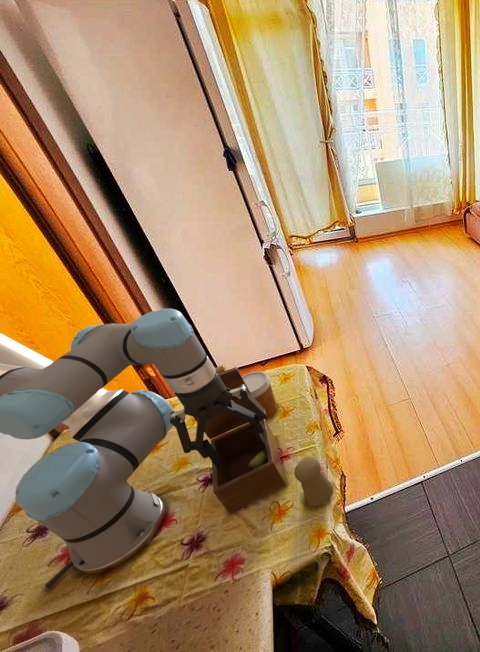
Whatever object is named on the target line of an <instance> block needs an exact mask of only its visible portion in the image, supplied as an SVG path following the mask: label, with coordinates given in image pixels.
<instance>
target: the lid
mask: <svg viewBox="0 0 480 652" xmlns="http://www.w3.org/2000/svg"><path fill="white" fill-rule="evenodd" d="M215 369H216V372H217V373H218V374H219V376H220V378H221V380H222V381H223V383H224V385H225V386H226V387H227V388H229V389H230V390H233V389H236V388H239V385H241V384H245V386H246V389H247V392H248V393H249V394H250V395H251V396H252V394H251V392H250V390H249V389H248V387H247V385H246V383H245V381H244V380H243V378H242V376H243V375H242V374H241V372H240V370H239V369H238V367H237V366H235V367H232V368H229V369H227V368H226V365H224V364H222V365H219V366H217V367H215ZM252 397H253V396H252ZM231 400H232V401H234V403H236V404H238V405H240V406H242V407H244V408H246V409H248V410H250V411H252V410H251V409H250V408H249V407H248V406H247V405H246V404H245V403H244V402H243V401H242V399H239V398H237V397H236V396H232V398H231ZM252 412H253V411H252ZM193 418H194V420H195V421H196V422H197V420H198V418H197V417H193ZM248 423H249V422H247V421H244V420H242V419H240V418H238V417H236V416H234V415H232V414H230V415H229V414H227V413H222V414H219V415H215V416H214V417H212V418H210V419H206V423H205V430H204V435H205V436H206V437H207V439H208V440H211V439H213V438H216V437H218V436H220V435H223V434H225V433H227V432H229V431H232V430H234V429H236V428H239V427H241V426H243V425H245V424H248Z"/></svg>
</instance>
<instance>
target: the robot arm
mask: <svg viewBox="0 0 480 652" xmlns="http://www.w3.org/2000/svg"><path fill="white" fill-rule="evenodd" d="M142 365H144V366H145V365H153V366H154V367H155V368H156V369H157V371H158V372H159V374H160V376H161V377H162V379H164V381H165V382H166V383H167V386H169V388H170V389H171V390H172V392H174V394H175V396H176V398H177V400H178V401H179V402H180V404H181V405H182V406H183V408H182V409H180V410H179V411H178V410H174V408H173V407H172V405H171V404H170V403H169V401H167V400H166V399H165V397H162V395H159V394H157V393H155V392H153V391H151V390H150V391H147V390H144V389H139V390H135V391H132V392H129V391H127V390H125V389H123V388H121V389H113V390H108V389H106V388H104V387H105V386H107V385H108V384H109V383H110V382H112V380H115V378H116V377H118V376H119V375H120V374H121V373H122V372H123V371H125V370H126V369H127V368H128V367H130V366H142ZM215 368H216V367H215V366H214V364H213V362H212V361H211V359H210V357H209V356H208V354H207V352H206V351H205V349H204V348H203V346H202V344H201V342H200V341H199V339H198V337H197V335H196V334H195V331H194V329H193V327H192V325H191V324H190V323H189V322H188V320H187V319H186V317H185V316H184V315H183V313H182V312H181V311H179V310H177V309H175V308H161V309H159V310H153V311H149V312H147V313H145V314H143V315H141V316H139V317H138V318H136V319H135V320H134V321H133V322H132V323H115V322H114V323H113V322H112V323H105V324H94V325H89V326H87V327H84V328H83V329H81V330H79V331H78V332H77V333H76V334H75V336H74V337H73V340H72V341H71V343H70V350H68V351H67V352H66V353H64V354H63V355H61V356H60V357H58V358H57V359H55V360H54V361H53V360H52V359H50V358H48V357H47V356H44V355H42V354H40V353H39V352H37V351H35V350H33V349H31V348H30V347H28V346H26V345H24V344H22V343H20V342H18V341H17V340H14V339H12V338H11V337H9V336H7V335H5V334H4V333H1V332H0V434H3V435H6V436H10V437H12V438H14V439H17V440H18V439H19V440H34V439H35V440H36V439H38V438H42V437H43V436H45V435H47V434H48V433H50V432H51V431H52V430H54V429H56V427H58V426H59V425H60V424H63V425H65V426H67V427H68V428H69V436H70V437H69V438H70V439H73V440H75V441H74V442H70V443H67V444H64V445H62V446H59V447H56V448H55V449H54V451H53V452H52V453H51V452H48V453H46V454H45V455H43V456H42V457H41V458H39V459H38V460H37V461H36V462H34V463H33V465H31V467H29V468H28V470H27V471H26V472H24V474H23V476H22V477H21V478H20V480H19V481H18V484H17V486H16V488H15V499H14V500H15V502H16V504H17V506H19V507H20V508H21V509H22V510H23V511H24V513H25V514H26V516H27V517H28V518H30V519H32V520H34V521H37V522H38V523H39V524H40V525H42V526H43V527H44V528H46V529H48V530H49V531H51V532H52V533H53V534H54V535H56V537H58V538H60V539H61V540H63V541H64V542H65V544H66V547H67V550H68V555H69V558H70V561H69V563H67V564H66V565H65V566H64V567H63V568H62V569H61V570H59V572H57V573H56V574H55V575H54V576H53V577H52V578H51V579H50V580H49V581H48V582H46V583H45V585H44V586H45V588H47V589H48V588H51V587H52V586H53V585H54V584H55V583H56V582H57V581H58V580H59V579H60V578H61V577H62V576H63V575H64V574H65V573H66V572H67V571H69V570H70V569H71V568H72V567H73V566H74V567H75V568H77V569H78V570H79V571H81V572H83V573H86V574H99V573H104V572H107V571H109V570H111V569H114V568H117V567H118V566H120V565H122V564H123V563H125V562H127V561H128V560H130V559H131V558H132V557H134V556H135V555H137V553H139V552H140V551H141V550H143V548H144V547H145V546H146V545H148V544H149V543H150V542H151V540H152V539H153V537H154V536H155V535H156V534H157V533H158V531H159V529H160V528H161V526H162V524H163V521H164V519H165V516H166V506H165V503H164V502H163V500H161V498H159V496H157V494H156V493H152V492H146V491H143V490H141V489H137V488H134V487H133V486H132V485H131V484H130V483H129V482H128V479H129V478H131V476H132V475H133V474H134V473H135V471H136V470H137V469H138V468H139V467H140V466H141V465H142V463H143V462H144V461H145V460H146V459H147V458H148V457H149V455H150V454H151V453H152V452H153V451H154V450H155V449H156V448H157V446H158V445H159V444H160V443H161V442H162V441H163V440H165V438H166V437H167V434H168V433H169V432H170V430H171V429H172V428H173V427H174V428H175V430H176V433H177V436H178V438H179V441H180V445H181V448H182V450H183V453H184V454H190V453H191V452H192V451H197V452H198V453H199V455H200V456H201V458H203V459H207V458H209V459H210V461H211V463H212V462H213V463H214V465H215V466H216V467H219V466H220V456H219V455H218V454H217V452H216V451H215V449H214V448H213V447H212V445H211V441H209V438H206V439H204V436H205V432H204V430H205V423H206V419H210V418H212V417H214V416H215V415H219V414H222V413H227V414H229V415H230V414H232V415H234V416H236V417H238V418H240V419H242V420H244V421H247V422H249V423H250V425H251V429H252V431H253V433H254V434H255V436H256V438H257V439H258V441H259V443H260V445H261V446H263V445H265V442H264V437H263V435H262V432H264V427H263V424H262V423H261V420H262V419H266V418H267V415H266V411H265V409H264V408H263V407H262V406H261V405H260V404H259V403H258V402H257V401H256V400H255V399H254V398H253V397H252V396H251V395H250V394H249V393H248V392H247V389H246V386H245V384H241V385H239V388H236V389H233V390H230V389H229V388H227V387H226V386H225V385H224V383H223V381H222V380H221V378H220V376H219V374H218V373H217V372H216V369H215ZM232 396H236V397H237V398H239V399H242V401H243V402H244V403H245V404H246V405H247V406H248V407H249V408H250V409H251V410H252V411H253V412H252V411H250V410H248V409H246V408H244V407H242V406H240V405H238V404H236V403H234V401H232V400H231V398H232ZM186 416H189V417H193V418H194V417H197V418H198V420H197V421H196V431H195V438H194V440H192V439H191V436H190V433H189V430H188V428H187V424H186ZM266 420H267V419H266Z"/></svg>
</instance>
